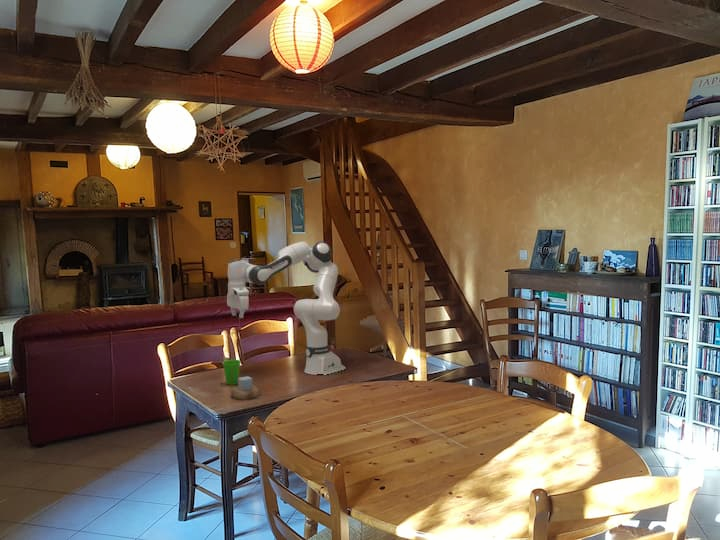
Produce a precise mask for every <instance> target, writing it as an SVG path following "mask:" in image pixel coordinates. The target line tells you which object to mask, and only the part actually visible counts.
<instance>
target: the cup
mask: <svg viewBox="0 0 720 540" xmlns="http://www.w3.org/2000/svg"><path fill="white" fill-rule="evenodd" d="M241 363H242V362H241V360H239V359H227V360H224V361H222V365H223V370H224V376H225V382H226V385H227V384H228V385H227V386H235V385H238V378H239V373H240V366H241Z"/></svg>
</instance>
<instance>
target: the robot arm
mask: <svg viewBox="0 0 720 540" xmlns="http://www.w3.org/2000/svg"><path fill="white" fill-rule="evenodd" d="M332 260H333V255H332V250H331V246H330V245H329V244H328V243H327V242H325V241H319V242H316V243H314V245H313V246H312V247H310V245H309V244H308V243H307V242H306V241H299V242H294V243H292V244H289V245H287V246H286V247H283V248H282V249H280V250H278V253H277V259H275V260H274V261H272V262H270V263H268V264H266V265H265V264H264V265H256V264H252V263H249V262H247V261H245V260H244V259H243V258H237V259H232V260H229V262H228V265H227V278H228V282H227V295H226V304H227V307H230V310H231V316H232V317H235V316H237V312H236V309H237V310H239V314H238V317H239V319H243V318H244V314H245V311H247V310H248V309H249V303H250V301H249V299H250V298H249V295H250V290H249V289H248V288H247V287H246V283H250V284H255V285H256V286H264V285H265V284H267V282H268V281H269V280H270V279H271V278H272V277H273V276H275V275H277V274H278V273H280V272H282V271H284V270H286V269H287V268H291V267H293V266H295V265H297V264H299V263H302V262H303V263H302V264H303V265H304V266H305V267H306V268H307V269H308V270H309V271H310V272H311V273H314V274H316V273H317V275H316V278H315V282H314V284H313V287H312V288H313V293H314V294H315V295H316V296H317V297H318V298H317V299H316V298H315V299H314V298H304V299H303V298H302V299H298V300H297V301H296V302H295V303H294V305H293V313H294V315H295V317H296V318H297V319H299V321H300V322H301V323H302V325H303V327H304V329H305V335H306V345H305V355H306V360H305V361H306V362H305V368H304V370H303V372H304V373H305V374H308V375H313V376H314V375H315V376H316V375H317V374H323V375H322V376H328V375H327V374H329V375H331V373H332V374H335V373H338V371H339V372H341V370H342V371H344V369H345V370H346V366H344V365H343V364H342V361H341V358H340V357H339V356H338V355H336V354H335V353H334V352H333V351H331V350H334V349H335V346H334V345H329V344H328V330H327V329H326V328H325V327H324V326H322V325H321V323H319V321H326V322H327V321H334V320H336V319H337V318H338V317H339V315H340V313H341V307H340V305H339V303H338V302H337V301H336V299H335V298H334V291H335V286H336V284H337V279H338V276H339V275H338V274H339V268H338V266H337V264H335V263H334V262H332ZM334 372H335V373H334Z"/></svg>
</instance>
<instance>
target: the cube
mask: <svg viewBox="0 0 720 540" xmlns="http://www.w3.org/2000/svg"><path fill="white" fill-rule="evenodd" d="M253 381H254V380H253V378H252V377H250V376H249V375H248V376H243V377H242V376H241V377H238V382H237V386H238V389H240V390H241V391H247V390H251V389H253V385H254V383H253Z"/></svg>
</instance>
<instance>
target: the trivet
mask: <svg viewBox="0 0 720 540" xmlns="http://www.w3.org/2000/svg"><path fill="white" fill-rule="evenodd" d="M260 395H261V388H260V385H256V384H253V389H251V390H247V391H241V390H240V389H238V385H237V386H234V387H232V388H231V389H230V396H231V399H234V400H238V401H246V400H247V399H248V400H253V399H256V398H258V397H259V396H260ZM252 398H253V399H252ZM248 400H247V401H248Z"/></svg>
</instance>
